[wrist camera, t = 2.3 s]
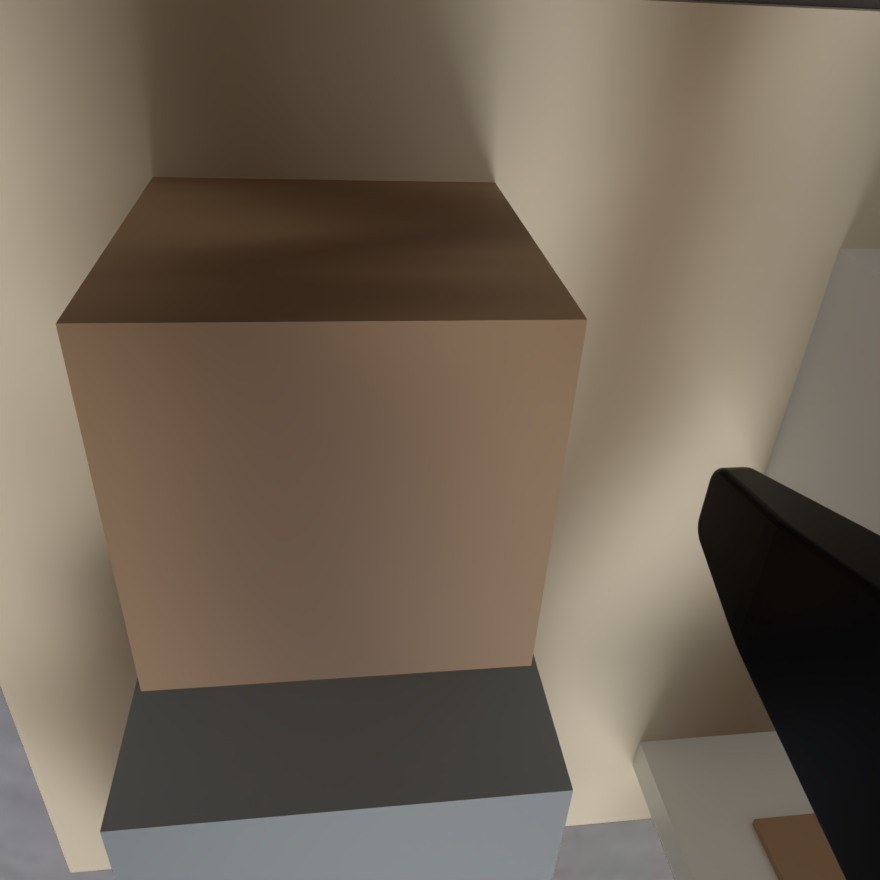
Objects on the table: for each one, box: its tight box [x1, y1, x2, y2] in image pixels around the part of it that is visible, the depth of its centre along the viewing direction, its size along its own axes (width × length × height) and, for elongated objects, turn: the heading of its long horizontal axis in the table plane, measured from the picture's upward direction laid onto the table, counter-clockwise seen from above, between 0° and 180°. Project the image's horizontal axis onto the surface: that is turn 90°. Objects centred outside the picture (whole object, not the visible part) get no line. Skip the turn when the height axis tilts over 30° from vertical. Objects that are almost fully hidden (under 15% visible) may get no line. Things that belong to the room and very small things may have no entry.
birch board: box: [0, 0, 880, 873], centre depth 16 cm, size 22×20×1 cm
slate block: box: [100, 654, 573, 880], centre depth 17 cm, size 8×8×4 cm
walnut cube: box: [55, 177, 587, 691], centre depth 11 cm, size 5×5×5 cm
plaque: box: [633, 731, 846, 880], centre depth 18 cm, size 7×1×7 cm, turn 87°
